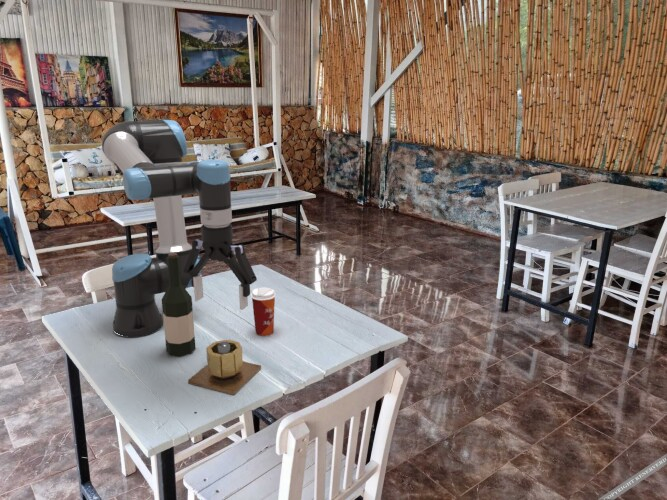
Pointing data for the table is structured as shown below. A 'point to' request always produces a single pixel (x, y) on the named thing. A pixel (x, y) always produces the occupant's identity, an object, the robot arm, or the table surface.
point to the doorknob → (229, 382)
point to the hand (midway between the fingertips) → (221, 303)
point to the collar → (224, 359)
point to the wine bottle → (177, 312)
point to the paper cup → (263, 310)
